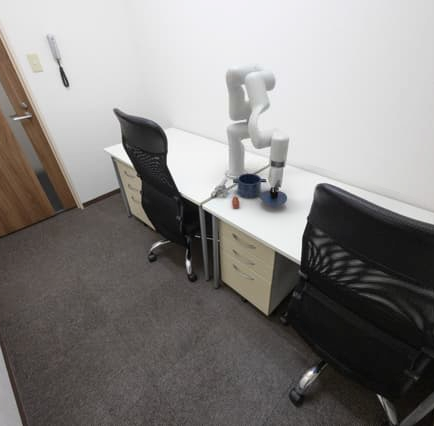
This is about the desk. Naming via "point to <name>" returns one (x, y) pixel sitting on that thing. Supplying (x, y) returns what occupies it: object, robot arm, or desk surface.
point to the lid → (267, 198)
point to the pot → (249, 185)
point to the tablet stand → (221, 186)
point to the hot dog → (235, 202)
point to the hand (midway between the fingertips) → (273, 195)
